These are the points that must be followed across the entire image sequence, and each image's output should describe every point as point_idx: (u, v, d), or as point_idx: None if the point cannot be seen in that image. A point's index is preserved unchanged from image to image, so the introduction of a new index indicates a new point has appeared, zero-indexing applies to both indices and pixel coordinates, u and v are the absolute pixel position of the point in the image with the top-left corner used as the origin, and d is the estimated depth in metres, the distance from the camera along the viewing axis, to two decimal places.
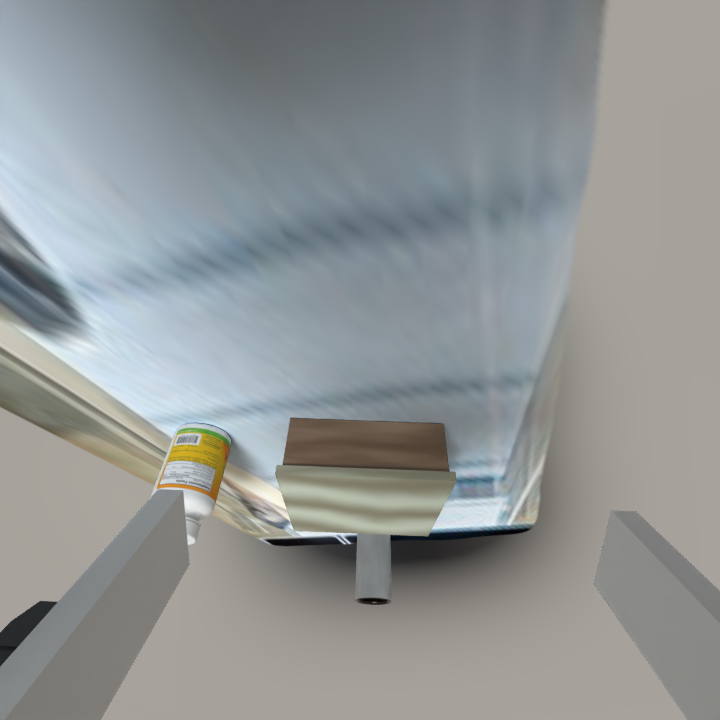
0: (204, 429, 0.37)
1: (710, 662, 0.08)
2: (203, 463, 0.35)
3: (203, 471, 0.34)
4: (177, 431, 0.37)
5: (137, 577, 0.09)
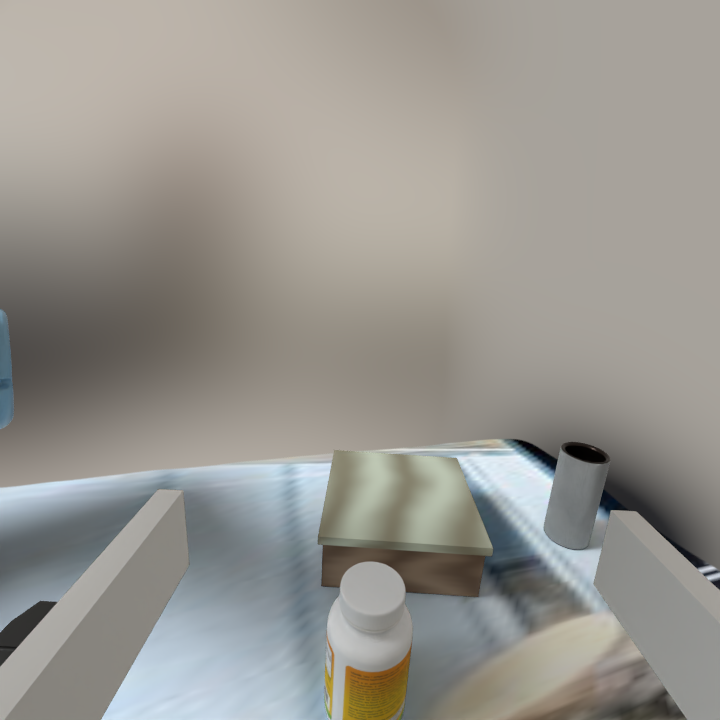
0: None
1: (710, 662, 0.08)
2: None
3: None
4: None
5: (137, 577, 0.09)
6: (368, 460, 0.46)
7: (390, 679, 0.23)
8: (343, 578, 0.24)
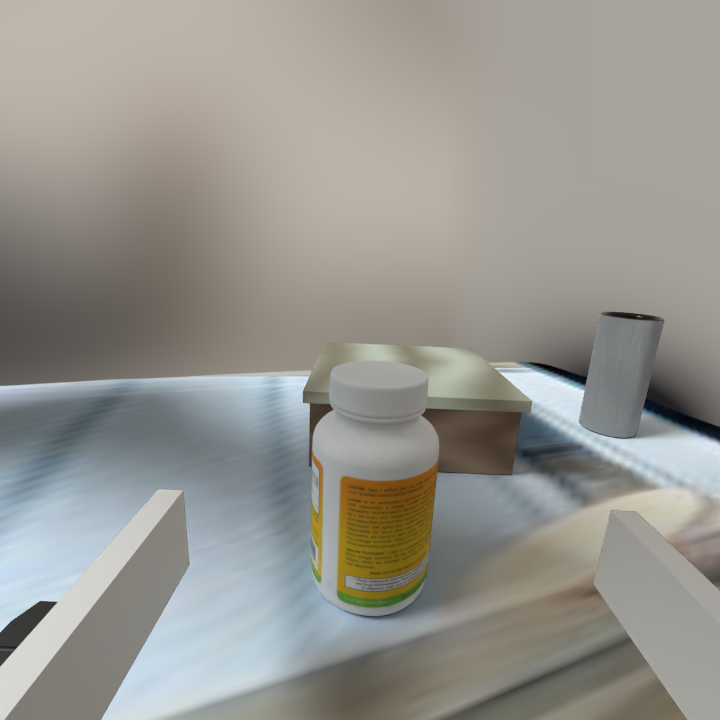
0: None
1: (710, 662, 0.08)
2: None
3: None
4: (322, 585, 0.16)
5: (137, 577, 0.09)
6: (366, 348, 0.38)
7: (409, 499, 0.15)
8: (335, 367, 0.16)
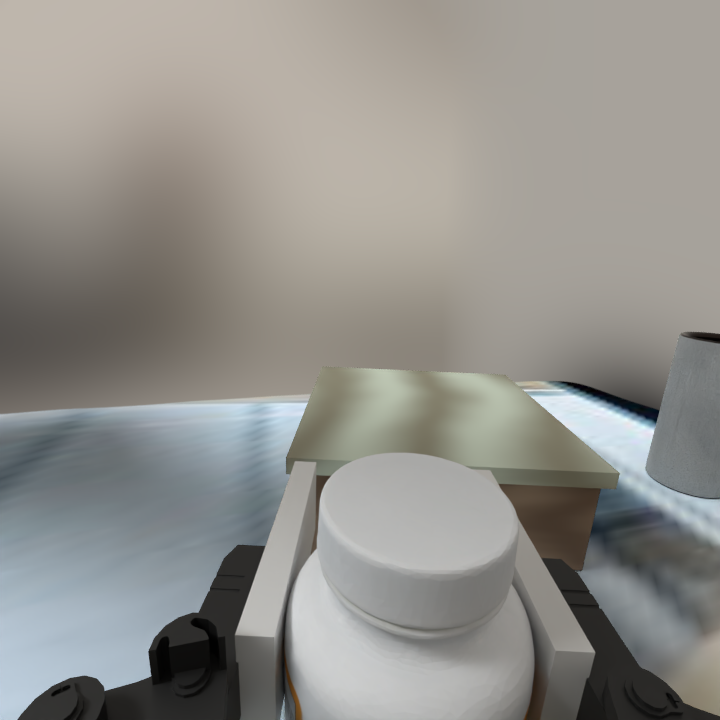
0: None
1: None
2: None
3: None
4: None
5: (305, 529, 0.11)
6: (374, 375, 0.30)
7: None
8: (329, 482, 0.08)
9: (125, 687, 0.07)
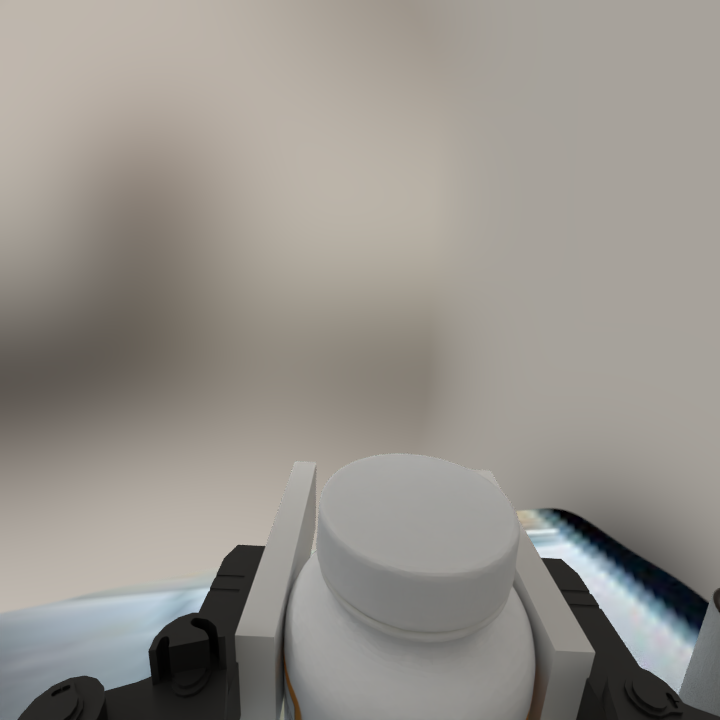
0: None
1: None
2: None
3: None
4: None
5: (305, 529, 0.11)
6: None
7: None
8: (329, 483, 0.08)
9: (125, 687, 0.07)
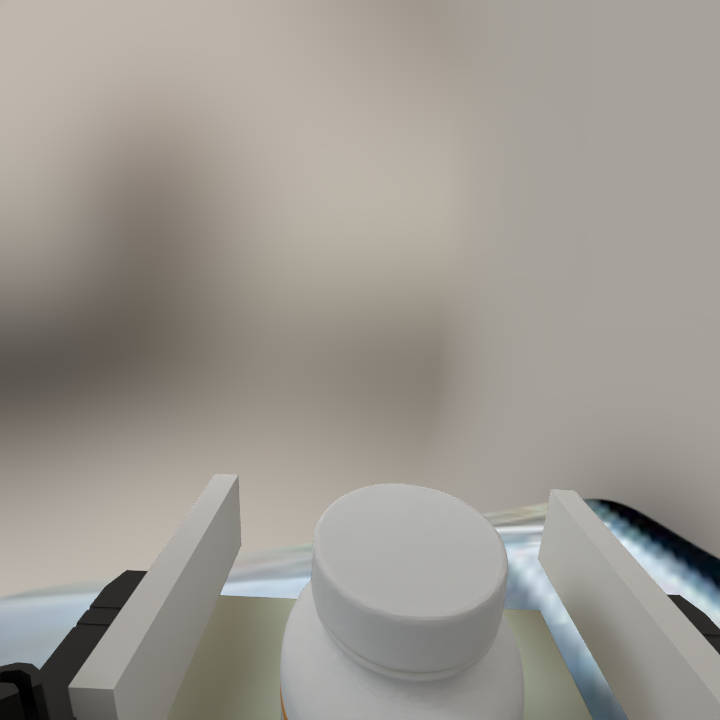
0: None
1: (618, 618, 0.09)
2: None
3: None
4: None
5: (208, 551, 0.10)
6: None
7: None
8: (323, 518, 0.09)
9: None
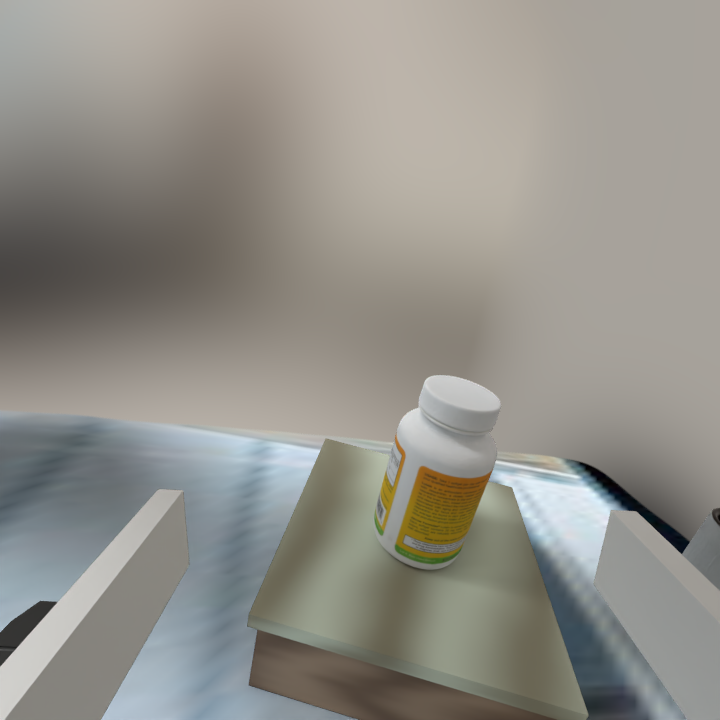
0: None
1: (710, 662, 0.08)
2: None
3: None
4: (383, 537, 0.22)
5: (137, 577, 0.09)
6: (374, 466, 0.29)
7: (467, 492, 0.19)
8: (427, 380, 0.21)
9: None
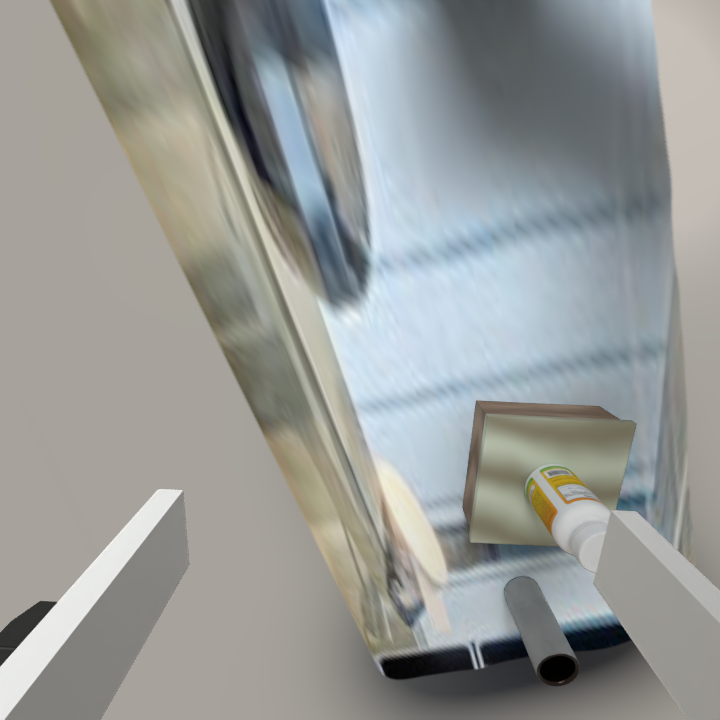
0: (565, 467, 0.40)
1: (710, 662, 0.08)
2: (589, 489, 0.37)
3: (594, 495, 0.36)
4: (538, 471, 0.40)
5: (137, 577, 0.09)
6: (609, 460, 0.40)
7: (548, 530, 0.36)
8: None
9: None
